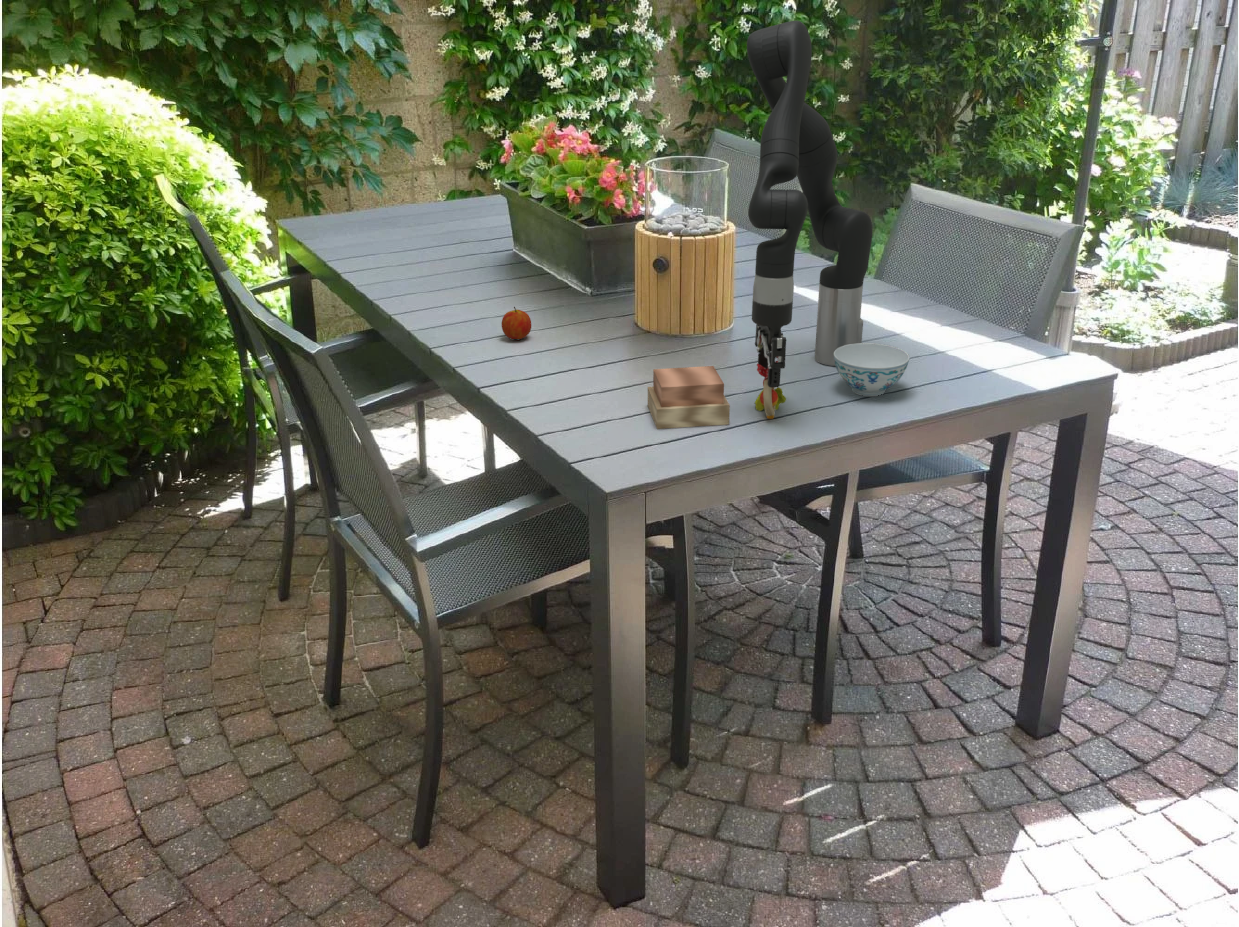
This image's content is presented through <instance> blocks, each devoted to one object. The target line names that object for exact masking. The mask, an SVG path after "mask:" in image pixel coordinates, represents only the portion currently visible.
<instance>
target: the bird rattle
mask: <svg viewBox="0 0 1239 927" xmlns="http://www.w3.org/2000/svg"><path fill="white" fill-rule="evenodd" d="M775 362H778V360H775ZM757 366H758V369H757V368H756V371H757V373H758V374H759V375H760V376H761V377H763V381H762V386H763V387H762V388H763V389H762V390H761V392H760V393H758V396H757V398H756V400H755V401H754V403H753V404H754V406H755V410H756V411H759V412H762V411H764V412H765V416H766V418H767V419H768V420H773V419H774V418H775V413H776V412H775V411H778V410H779V408H780V404H784V403H786V401H787V397H786V396H785V395H784V394H783V389H782V388H781V387H780V386H779V387H769V386H768V384H767V383H768V369H766V368H764V367H763V366H761V365H760V364H758V363H756V367H757Z"/></svg>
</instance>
